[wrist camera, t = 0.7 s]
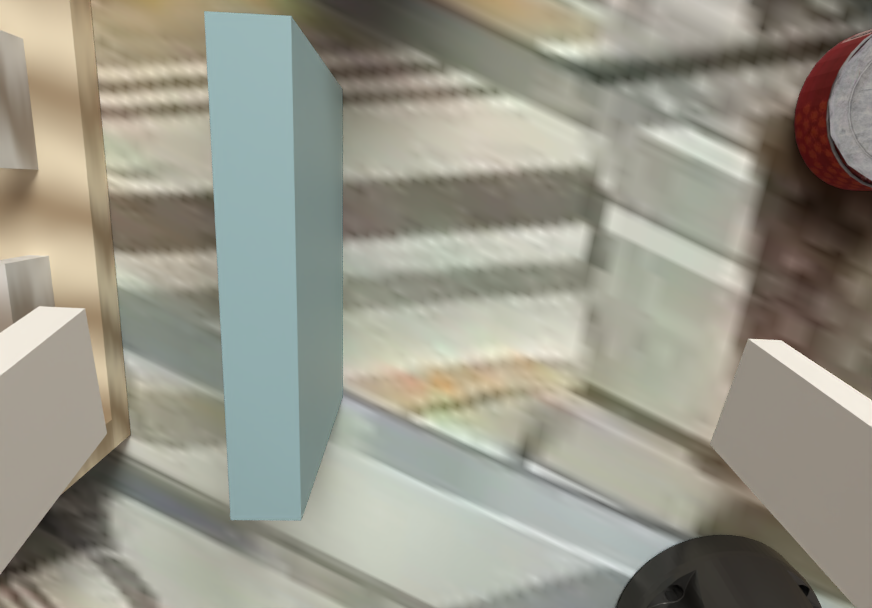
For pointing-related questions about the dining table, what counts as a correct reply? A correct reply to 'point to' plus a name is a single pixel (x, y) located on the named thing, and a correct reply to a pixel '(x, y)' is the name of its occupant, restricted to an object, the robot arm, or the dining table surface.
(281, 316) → the door
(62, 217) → the hinge base
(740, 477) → the robot arm
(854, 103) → the canned food
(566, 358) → the dining table surface
